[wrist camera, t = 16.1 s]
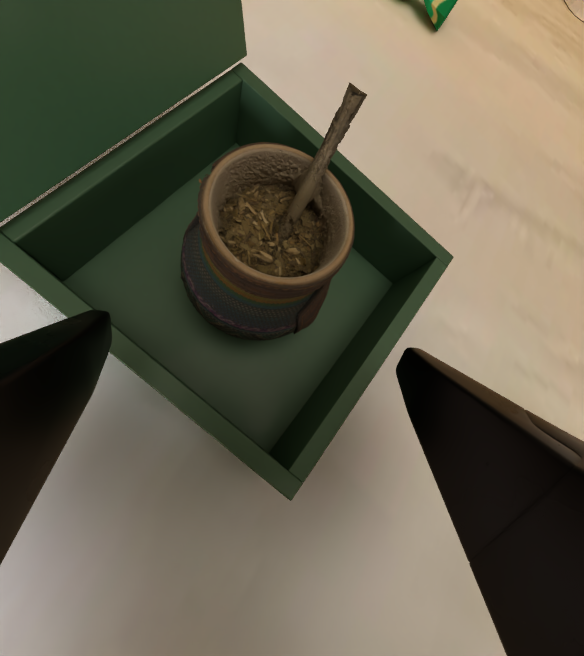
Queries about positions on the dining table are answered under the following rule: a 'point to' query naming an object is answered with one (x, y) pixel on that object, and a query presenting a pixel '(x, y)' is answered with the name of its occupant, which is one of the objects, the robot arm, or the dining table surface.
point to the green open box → (174, 305)
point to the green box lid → (98, 78)
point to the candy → (439, 10)
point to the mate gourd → (269, 235)
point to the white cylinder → (576, 8)
